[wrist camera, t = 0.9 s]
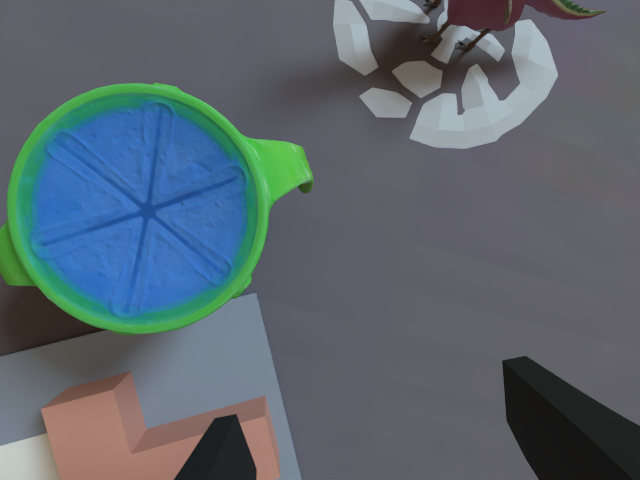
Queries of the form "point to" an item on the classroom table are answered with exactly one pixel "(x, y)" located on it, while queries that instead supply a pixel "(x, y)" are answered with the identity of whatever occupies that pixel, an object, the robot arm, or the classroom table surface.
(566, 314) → the classroom table surface
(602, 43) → the classroom table surface
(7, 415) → the t board
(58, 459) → the t block
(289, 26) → the classroom table surface
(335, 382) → the classroom table surface
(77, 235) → the snack cup
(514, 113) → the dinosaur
